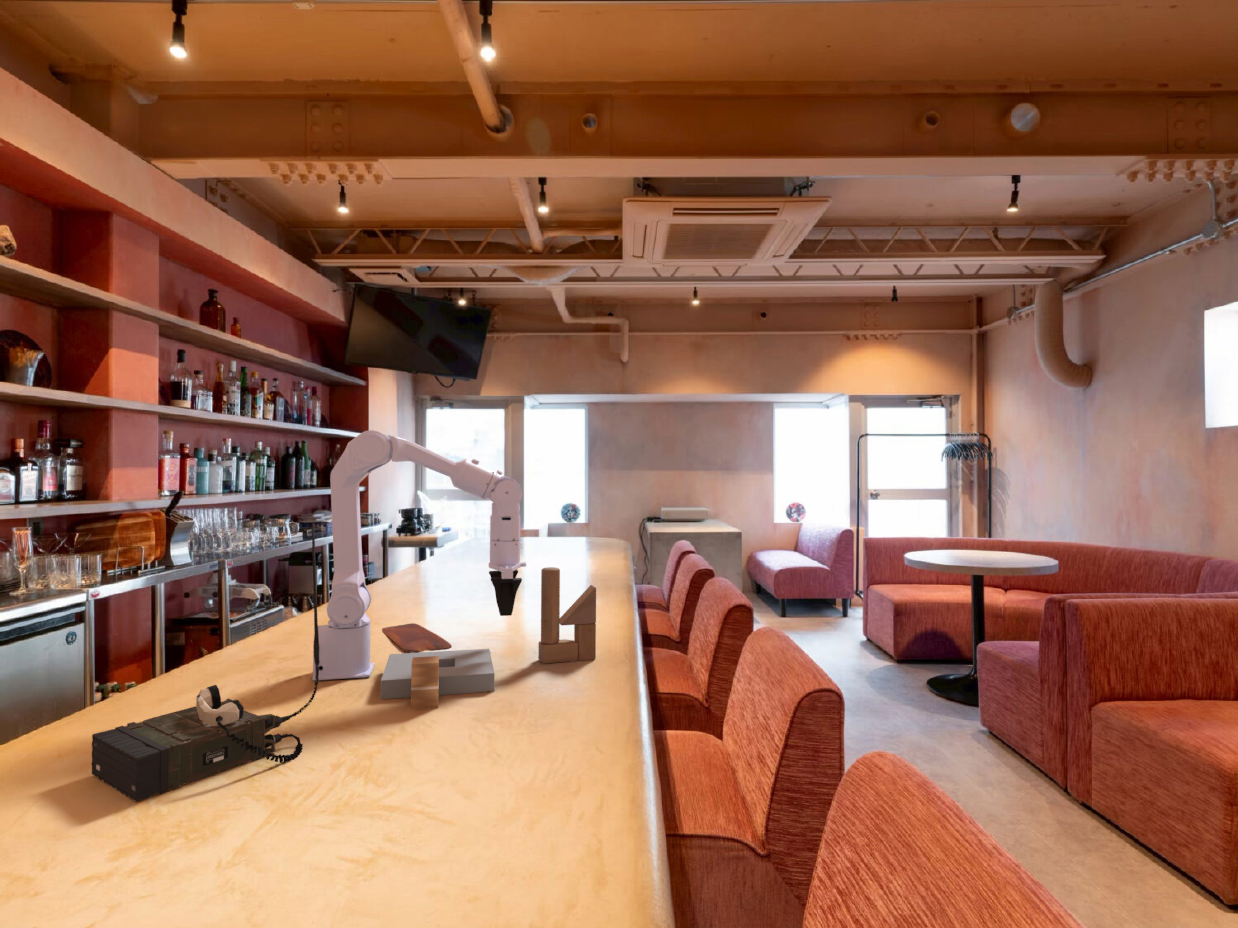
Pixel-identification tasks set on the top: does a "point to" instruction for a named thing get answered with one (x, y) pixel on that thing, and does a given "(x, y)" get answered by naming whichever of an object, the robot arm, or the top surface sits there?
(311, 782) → the top surface
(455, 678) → the slate board
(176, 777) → the radio
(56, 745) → the top surface
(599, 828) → the top surface
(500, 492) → the robot arm
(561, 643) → the wooden block
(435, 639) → the wooden tablet
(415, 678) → the oak peg
